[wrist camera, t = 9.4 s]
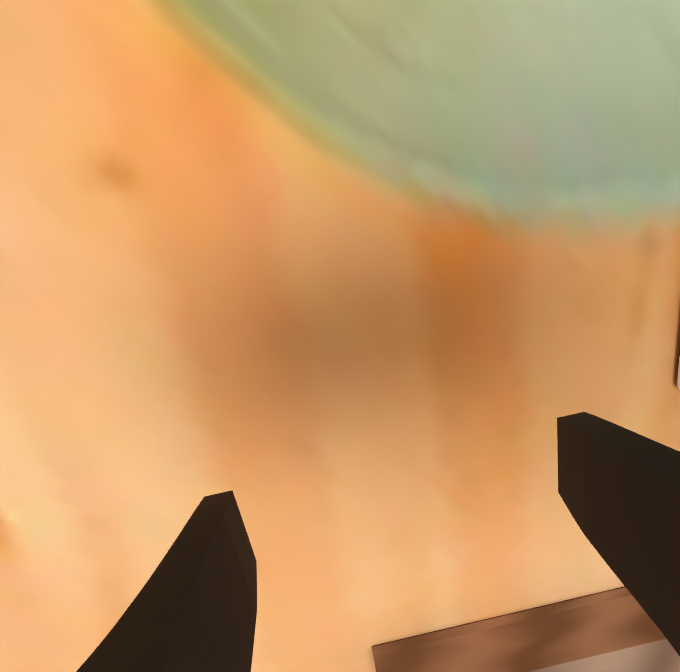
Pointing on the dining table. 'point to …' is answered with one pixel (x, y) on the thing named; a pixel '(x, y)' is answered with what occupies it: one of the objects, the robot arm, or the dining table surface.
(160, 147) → the dining table surface
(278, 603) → the dining table surface
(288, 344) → the dining table surface
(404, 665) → the hole block
